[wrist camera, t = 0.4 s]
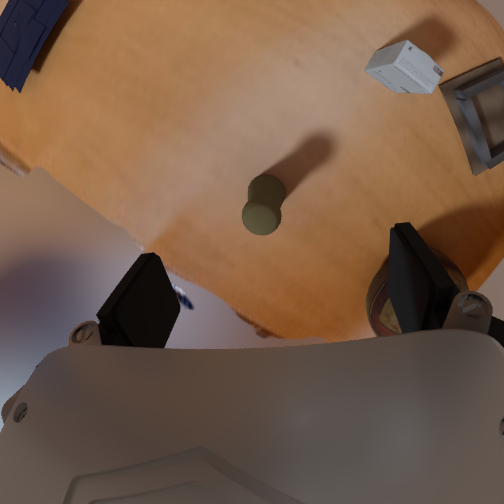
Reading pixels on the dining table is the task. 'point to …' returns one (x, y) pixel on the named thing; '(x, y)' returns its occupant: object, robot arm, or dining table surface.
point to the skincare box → (405, 68)
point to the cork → (263, 205)
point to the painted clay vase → (380, 303)
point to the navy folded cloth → (25, 36)
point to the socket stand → (479, 113)
